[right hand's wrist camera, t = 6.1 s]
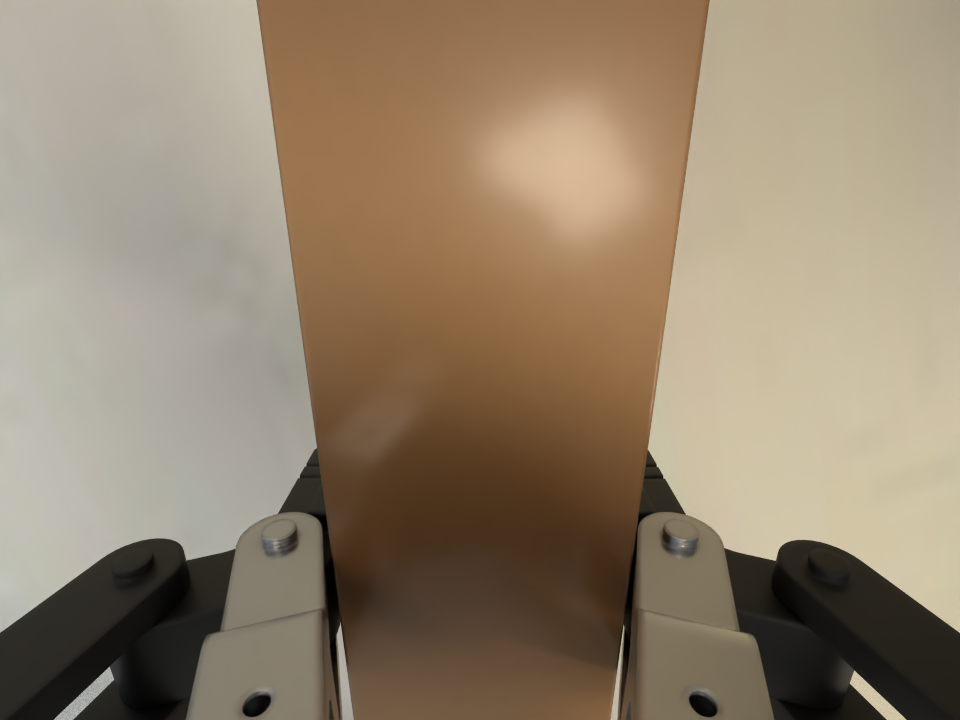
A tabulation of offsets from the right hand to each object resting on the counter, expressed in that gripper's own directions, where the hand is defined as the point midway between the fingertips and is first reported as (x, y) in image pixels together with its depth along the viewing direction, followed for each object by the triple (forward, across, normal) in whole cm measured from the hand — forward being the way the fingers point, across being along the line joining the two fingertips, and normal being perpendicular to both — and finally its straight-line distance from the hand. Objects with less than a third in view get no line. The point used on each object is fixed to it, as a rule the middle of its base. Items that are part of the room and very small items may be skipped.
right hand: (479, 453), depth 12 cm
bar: (+2, 0, -26) cm, 26 cm away
